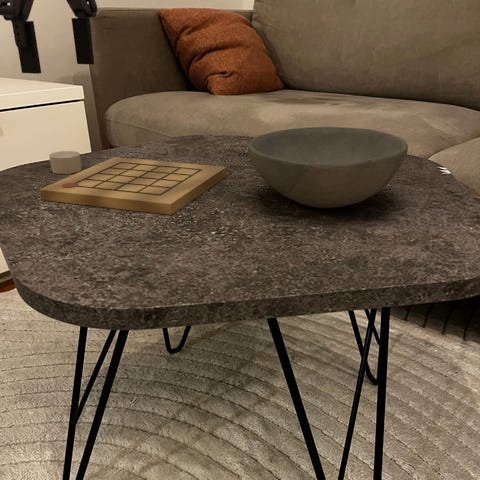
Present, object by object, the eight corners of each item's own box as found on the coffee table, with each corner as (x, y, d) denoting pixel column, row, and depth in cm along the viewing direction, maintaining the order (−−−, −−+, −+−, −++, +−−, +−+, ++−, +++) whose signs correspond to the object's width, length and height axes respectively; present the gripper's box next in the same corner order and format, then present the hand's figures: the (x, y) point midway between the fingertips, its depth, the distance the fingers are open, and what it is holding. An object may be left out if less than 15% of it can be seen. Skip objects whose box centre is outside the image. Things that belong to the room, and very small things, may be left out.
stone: (45, 172, 95) (42, 156, 94) (63, 165, 99) (60, 150, 98) (71, 175, 93) (68, 158, 92) (87, 168, 97) (85, 152, 96)
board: (40, 200, 82) (39, 188, 81) (114, 166, 98) (113, 156, 98) (171, 215, 76) (170, 202, 75) (226, 176, 93) (226, 166, 92)
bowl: (429, 218, 74) (439, 154, 71) (269, 230, 71) (270, 163, 67) (364, 175, 93) (369, 122, 89) (234, 183, 89) (233, 128, 85)
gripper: (-5, -123, 67) (28, 78, 77) (110, -95, 87) (124, 61, 97) (-58, -119, 69) (-19, 76, 79) (67, -92, 90) (85, 60, 100)
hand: (60, 68), depth 88 cm, fingers open, 13 cm apart
